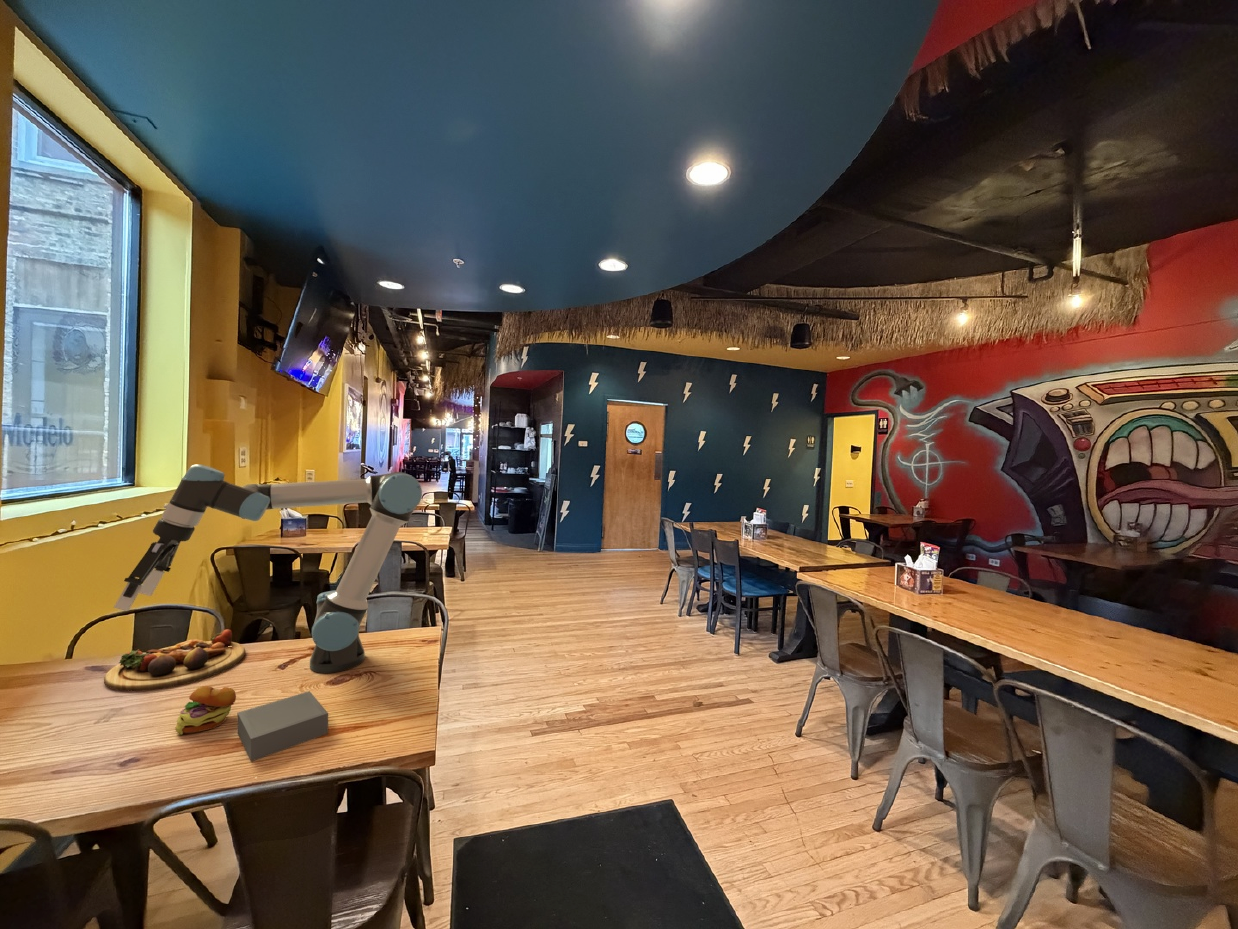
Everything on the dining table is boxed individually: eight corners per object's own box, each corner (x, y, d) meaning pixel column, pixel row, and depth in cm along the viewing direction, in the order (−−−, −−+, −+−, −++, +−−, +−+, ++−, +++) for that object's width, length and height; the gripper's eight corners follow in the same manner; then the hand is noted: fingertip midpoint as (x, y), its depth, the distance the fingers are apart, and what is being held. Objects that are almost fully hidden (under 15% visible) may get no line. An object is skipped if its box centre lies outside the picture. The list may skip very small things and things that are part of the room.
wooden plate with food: (220, 640, 171) (220, 617, 171) (263, 662, 155) (263, 636, 155) (89, 674, 144) (89, 646, 144) (124, 705, 127) (124, 674, 127)
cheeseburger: (164, 729, 116) (176, 685, 118) (216, 719, 125) (227, 678, 127) (184, 741, 112) (196, 695, 114) (236, 730, 121) (247, 687, 123)
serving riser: (309, 710, 127) (309, 691, 126) (327, 733, 116) (328, 713, 116) (237, 733, 116) (237, 712, 115) (250, 761, 105) (250, 739, 105)
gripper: (178, 511, 134) (136, 584, 131) (140, 523, 112) (88, 611, 109) (209, 521, 138) (170, 592, 134) (178, 534, 115) (130, 620, 112)
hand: (133, 601), depth 121 cm, fingers open, 13 cm apart
